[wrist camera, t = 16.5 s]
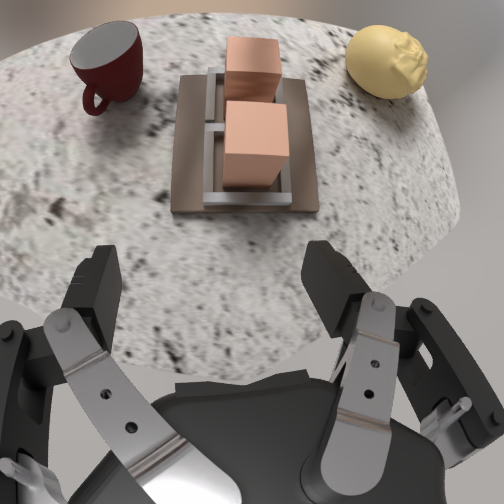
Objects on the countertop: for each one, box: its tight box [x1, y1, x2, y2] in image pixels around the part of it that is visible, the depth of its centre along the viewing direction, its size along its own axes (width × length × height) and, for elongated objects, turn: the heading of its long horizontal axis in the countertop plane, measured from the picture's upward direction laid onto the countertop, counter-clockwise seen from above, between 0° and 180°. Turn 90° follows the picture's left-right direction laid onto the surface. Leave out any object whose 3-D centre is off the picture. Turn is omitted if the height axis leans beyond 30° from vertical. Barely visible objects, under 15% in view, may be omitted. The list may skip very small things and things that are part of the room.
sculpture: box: [345, 25, 429, 99], centre depth 30 cm, size 12×12×11 cm
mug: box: [70, 21, 143, 116], centre depth 26 cm, size 11×8×10 cm
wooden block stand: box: [170, 37, 319, 214], centre depth 27 cm, size 16×18×10 cm
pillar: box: [222, 101, 289, 188], centre depth 26 cm, size 5×5×9 cm
